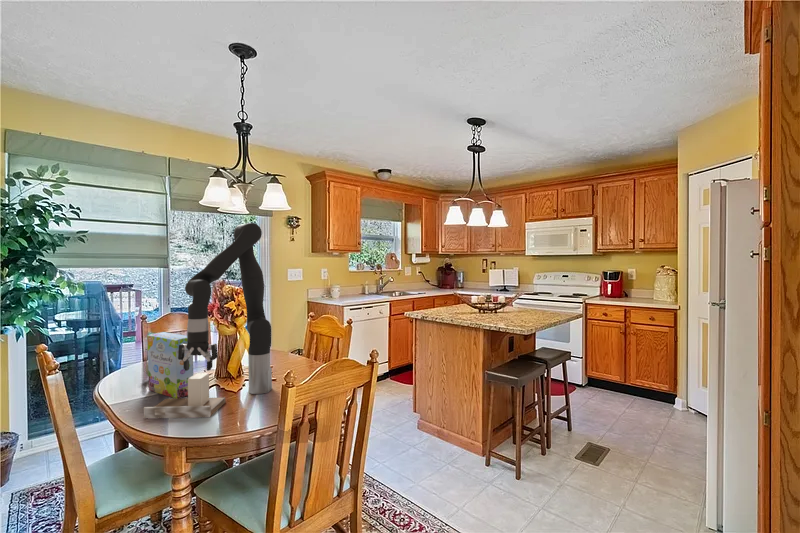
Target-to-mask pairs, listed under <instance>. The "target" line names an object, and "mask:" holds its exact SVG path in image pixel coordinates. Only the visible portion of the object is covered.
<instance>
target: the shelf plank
mask: <svg viewBox="0 0 800 533" xmlns="http://www.w3.org/2000/svg"><path fill="white" fill-rule="evenodd" d="M224 404H226V397H209V401H207V402H206V403H205V404H204V405H203V406H188V397H182V398H173V397H170V398H164V399H163V400H161V401H160V402H158V403H157V404H156V405H154V406H144V407H143V419H144V418H148V419H183V418H185V419H188V418H193V419H194V418H211V416H213V415H214V414H215V413H216V412H217V411H218V410H219V409H220V408H221V407H222V406H223V405H224Z"/></svg>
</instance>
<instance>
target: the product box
mask: <svg viewBox="0 0 800 533" xmlns="http://www.w3.org/2000/svg"><path fill="white" fill-rule="evenodd" d="M187 398H188V406H203V405H204V404H205V403H206V402H207V401H209V398H210V373H209V372H207V373H206V372H204V373H203V372H201V373H200V372H198V373H197V372H196V373H194V374H193V376H191V377H190V378H188V396H187Z"/></svg>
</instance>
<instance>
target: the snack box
mask: <svg viewBox="0 0 800 533" xmlns="http://www.w3.org/2000/svg"><path fill="white" fill-rule="evenodd" d="M146 341H147V342H146V344H147V349H148V350H147V362H148V376H149V377H148V376H147V377H148V390H149V392H154V393H156V394H160V395H162V396H166V397H170V398H186V397H188V378H190V377H191V376H193V375H194V356H193V355H192V356H191V357H190V358H189V359H188V360H189V370H187V371H185V369H184V368H183V367H184V362H183V360H179V359H178V352H179V345H181V344H188V342H187V335H185V334H179V333H172V332H166V331H161V332H157V333H152V334H147V335H146ZM188 352H189V350H188V349H187V348H186V349H185V354H184V356H186V354H187V353H188Z"/></svg>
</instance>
